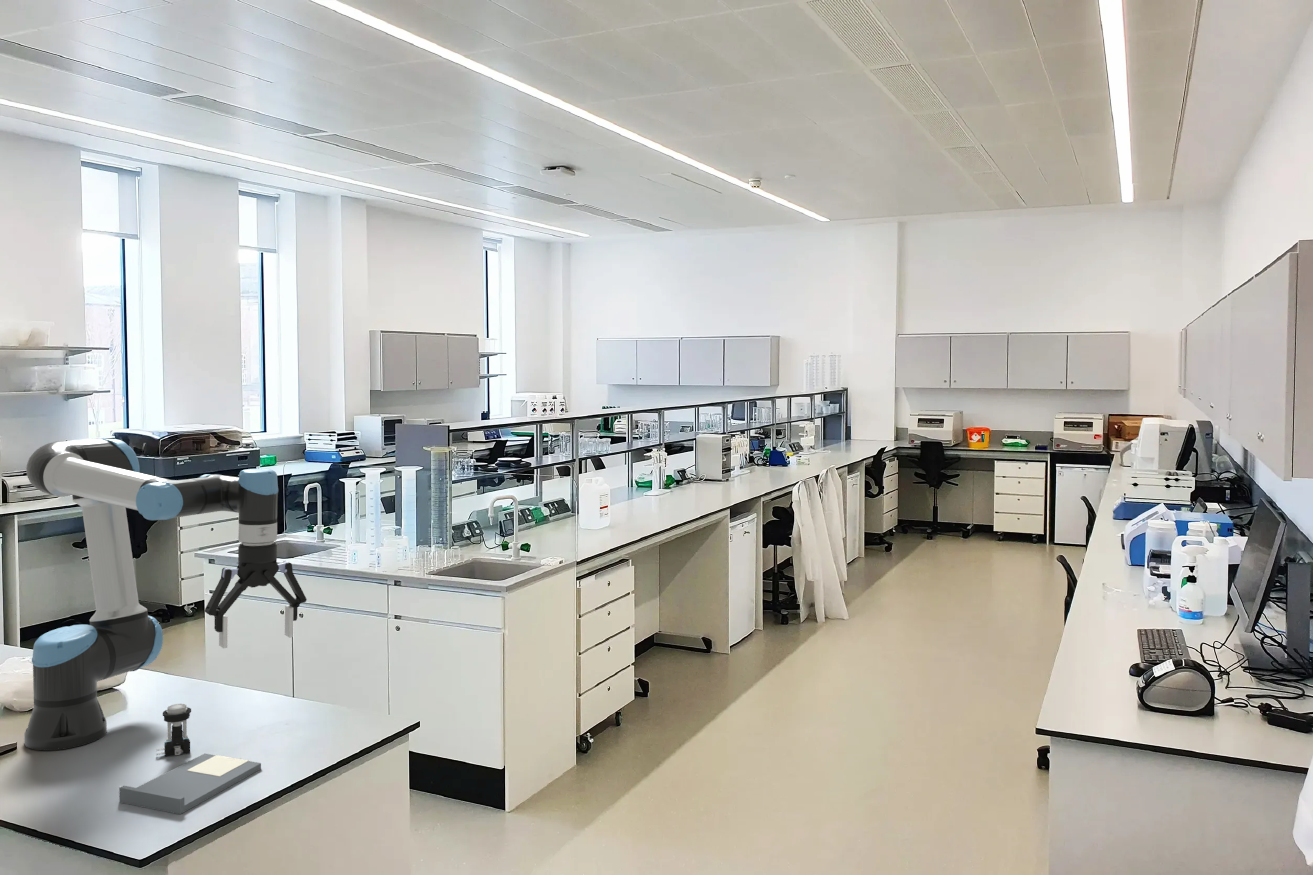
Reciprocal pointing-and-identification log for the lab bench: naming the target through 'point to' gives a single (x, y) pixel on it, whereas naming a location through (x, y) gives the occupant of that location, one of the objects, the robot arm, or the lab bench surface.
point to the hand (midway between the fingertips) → (256, 641)
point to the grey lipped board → (189, 783)
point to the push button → (176, 730)
